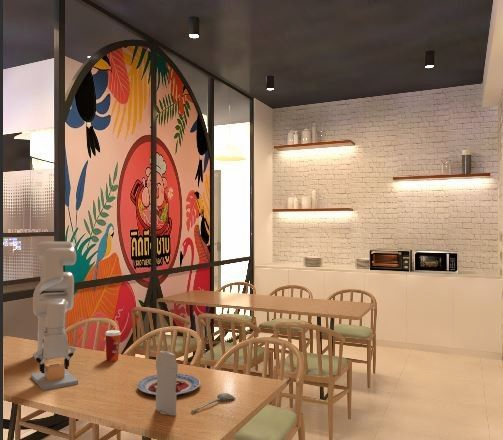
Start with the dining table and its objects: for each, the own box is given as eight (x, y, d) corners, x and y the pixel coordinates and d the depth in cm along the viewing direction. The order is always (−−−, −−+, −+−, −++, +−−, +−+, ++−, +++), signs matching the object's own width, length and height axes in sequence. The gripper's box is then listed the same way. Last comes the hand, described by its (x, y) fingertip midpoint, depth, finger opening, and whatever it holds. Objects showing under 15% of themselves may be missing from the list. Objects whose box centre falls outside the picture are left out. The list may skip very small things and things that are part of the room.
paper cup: (117, 362, 229) (118, 333, 229) (102, 361, 229) (102, 333, 229) (122, 357, 236) (122, 329, 237) (107, 357, 237) (107, 329, 237)
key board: (30, 377, 204) (31, 365, 204) (64, 371, 212) (64, 360, 212) (42, 390, 188) (43, 378, 188) (78, 383, 197) (78, 372, 197)
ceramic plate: (188, 402, 179) (188, 395, 179) (126, 396, 184) (126, 389, 184) (207, 380, 204) (207, 374, 204) (152, 376, 209) (152, 369, 209)
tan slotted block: (48, 380, 196) (48, 367, 196) (44, 376, 201) (44, 363, 201) (64, 377, 200) (64, 365, 200) (59, 373, 205) (60, 361, 205)
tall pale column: (180, 414, 167) (181, 352, 168) (172, 417, 164) (173, 355, 164) (159, 407, 173) (160, 347, 174) (151, 410, 170) (152, 350, 170)
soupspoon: (238, 401, 183) (226, 398, 187) (238, 392, 184) (226, 389, 188) (198, 416, 166) (186, 412, 170) (198, 406, 167) (186, 403, 171)
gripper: (35, 335, 192) (34, 376, 192) (78, 329, 203) (77, 369, 203) (31, 331, 198) (30, 371, 198) (73, 326, 209) (72, 365, 209)
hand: (54, 370), depth 200 cm, fingers open, 9 cm apart
